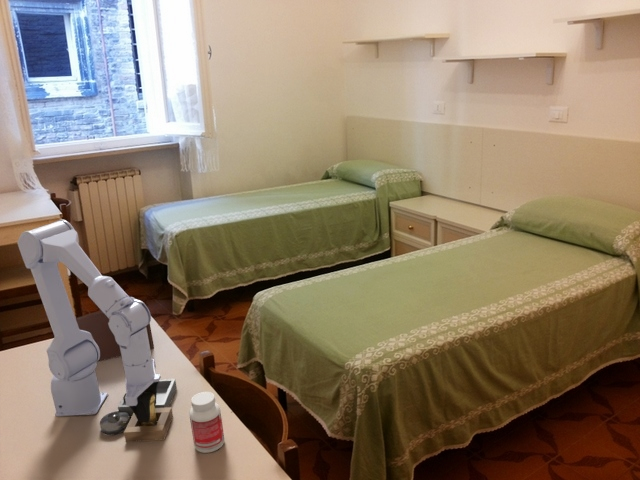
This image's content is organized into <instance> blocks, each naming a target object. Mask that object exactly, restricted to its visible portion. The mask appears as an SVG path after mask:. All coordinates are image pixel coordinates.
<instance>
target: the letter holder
mask: <svg viewBox="0 0 640 480" xmlns="http://www.w3.org/2000/svg"><path fill="white" fill-rule="evenodd" d="M75 318H76V321H77V324H78V327H79V330H83V331H87V332H89V333H91V335H92V337H93V339H94V341H95V342H96V344H97V345H98V347H99V350H100V359H99V360H98V361H97V362H101V361H106V360H110V359H113V358H119V357H122V356H121V351H120V346H119V344H117V342H116V340H115V336H114V334H113V333H112V331H111V330H110V328H109V325H108V323H109V320H110V319H109V318H108V317H107V316H106V315H105V314H104V313H103V312H102V310H99V311H96V312H92V313H91V312H90V313H88V314H85V315H82V316H78V317H75ZM146 328H147V334H148V340H149V345H150V350H152V349H154V348H155V345H154V339H153V332H152V327H151V322H150V323H149V324H148V325H147V326H146ZM97 362H96V363H97Z"/></svg>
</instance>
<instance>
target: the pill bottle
mask: <svg viewBox="0 0 640 480" xmlns="http://www.w3.org/2000/svg"><path fill="white" fill-rule="evenodd" d="M190 401H191V407H190V410H189V412H188V413H189V414H188V415H189V420H190V428H191V433H192V440H193V446H194V448H195V449H196V451H198V452H200V453H203V454H204V453H205V454H206V453H212V452H216V451H218V449H220V448H221V447H223V445H224V443H225V434H224V427H223V418H222V413H221V407H220V405H219V404H218V402H216V397H215V394H214V393H213V392H211V391H202V392H198V393H196V394H194V395H193V396H192V397H191V399H190Z"/></svg>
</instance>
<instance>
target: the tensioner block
mask: <svg viewBox="0 0 640 480" xmlns="http://www.w3.org/2000/svg"><path fill="white" fill-rule="evenodd" d="M155 412H156V417H157V425H156V426H141V423H139V421H138V419H137V418H136V416H135V414H134V413H133V415H132V416H130V417H131V418H129V420H130V421H129V423H128V425H127V427H126V429H125V431H123V434H124V435H123V436H124V440H125V443H129V442H130V443H131V442H147V441H148V442H151V441H164V440H165V437H166V435H167V433H168V430H169V428H170V425H171V422H172V419H173V418H174V414H173V407H171V406H169V407H167V408H155Z"/></svg>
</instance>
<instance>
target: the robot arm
mask: <svg viewBox="0 0 640 480" xmlns="http://www.w3.org/2000/svg"><path fill="white" fill-rule="evenodd" d="M16 243H17V247H18V249H19V252H20V255H21V257H22V258H21V259H22V260H23V263H24V266H25V268H26V269H28V270H29V269H30V271H31V275H32V277H33V279H34V282H35V285H36V288H37V291H38V294H39V297H40V299H41V302H42V305H43V308H44V310H45V314H46V316H47V319H48V321H49V324H50V327H51V330H52V333H53V335H54V337H53V339H52V341H51V342H50V344H49V345H48V347H47V348H46V355H47V357H48V368H49V371H50V373H51V374H52V375H53V376H52V377H51V382H50V391H51V392H50V393H51V396H52V401H53V405H54V408H55V413H54V416H55V417H70V416H85V415H87V416H88V415H89V416H91V415H96V414H98V411H99V410H100V408H101V407H102V405H103V404H104V401H105V400H106V399H107V397H108V395H109V394H108V392H101V391H100V387H99V382H98V378H97V373H96V368H97V367H98V364H97V361H98V360H99V359H100V350H99V347H98V345H97V344H96V342H95V341H94V339H93V337H92V335H91V333H89V332H87V331H83V330H79V327H78V324H77V321H76V318H77V317H76V315H75V313H74V311H73V307H72V304H71V301H70V298H69V296H68V293H67V289H66V287H65V283H64V281H63V278H62V276H61V271H60V270H59V267H58V264H59V263H61V264H63V265H64V266H65V267H66V268H67V269H69V270H70V272H72V273H73V275H75V276H76V277H77V278H78V279H79V280H80V281H82V283H84V284H85V285H86V287H87V288H88V290H87V296H88V297H89V298H90V299H91V301H93V303H94V304H95V305H96V306H97V307H98V309H99V310H100V311H102V312H103V313H104V314H105V315H106V316H107V317H108V318H109V319H110V320H109V323H108V325H109V328H110V330H111V331H112V333H113V334H114V336H115V340H116V342H117V344H119V346H120V351H121V356H120V357H121V361H122V366H123V371H124V377H125V393H124V395H123V396H122V399H123V400H124V403H126V406H129V407H130V408H131V409H132V411H133V412H134V414H135V416H136V418H137V419H138V421H139V423H144V422H149V420H150V400H151V396H152V394H154V395H155V401H154V406H155V407H156V395H157V387H158V383H159V380H161V374H160V373H156V367H157V365H156V364H157V363H156V360H155V359H154V358H152V353H151V349H150V345H149V340H148V334H147V328H146V326H147V325H148V324H149V323H150V324H151V321H152V313H151V312H150V310H149V308H148V306H147V305H146V304H145V302H143V301H142V300H140V299H137V298H135V297H133V296H130V295H128V294H127V293H126V291H124V289H123V288H122V287H121V286H120V285H119V284H118V283H117V282H116V281H115V280H114V278H113V277H111V276H107V275H103V274H101V272H100V270H99V269H98V268H97V267H96V265H95V264H94V263H93V261H92V260H91V259H90V257H89V256H88V255H87V254H86V252H85V251H84V250H83V248H82V247H81V246H80V244H79V243H80V240H79V234H78V232H77V230H75V228H74V226H72V224H71V223H70V222H69V221H67V220H66V219H58V220H56V221H55V222H52V223H49V224H45V225H43V226H40V227H35V228H34V229H31V230H26V231H23V232H21V233H20V236H19V238H18V240H17V242H16ZM98 362H99V361H98ZM145 392H151V393H145Z"/></svg>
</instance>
